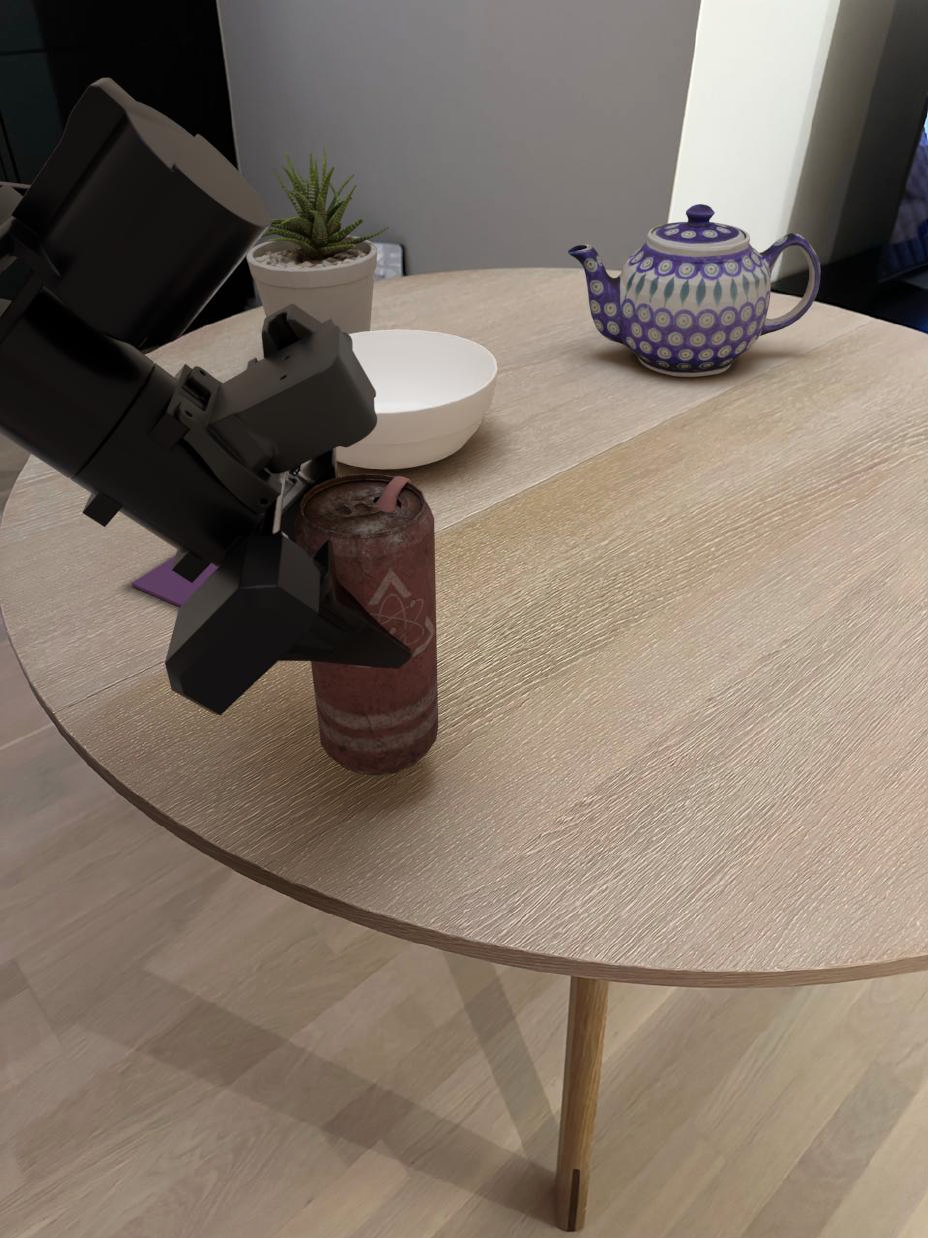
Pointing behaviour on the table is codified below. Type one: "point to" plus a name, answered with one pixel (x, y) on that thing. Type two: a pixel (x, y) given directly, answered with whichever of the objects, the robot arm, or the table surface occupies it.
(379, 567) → the can
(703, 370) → the teapot
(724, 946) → the table surface
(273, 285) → the potted plant
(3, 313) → the robot arm
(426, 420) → the bowl
